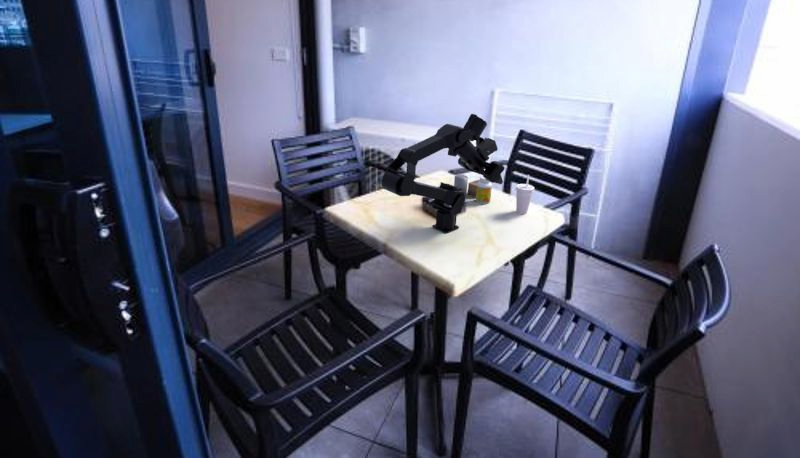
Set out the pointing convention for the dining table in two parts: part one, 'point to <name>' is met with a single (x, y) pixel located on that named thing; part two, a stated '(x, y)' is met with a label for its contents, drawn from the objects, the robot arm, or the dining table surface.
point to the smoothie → (523, 197)
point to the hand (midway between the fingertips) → (493, 178)
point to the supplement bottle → (483, 191)
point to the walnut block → (473, 188)
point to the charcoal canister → (461, 183)
